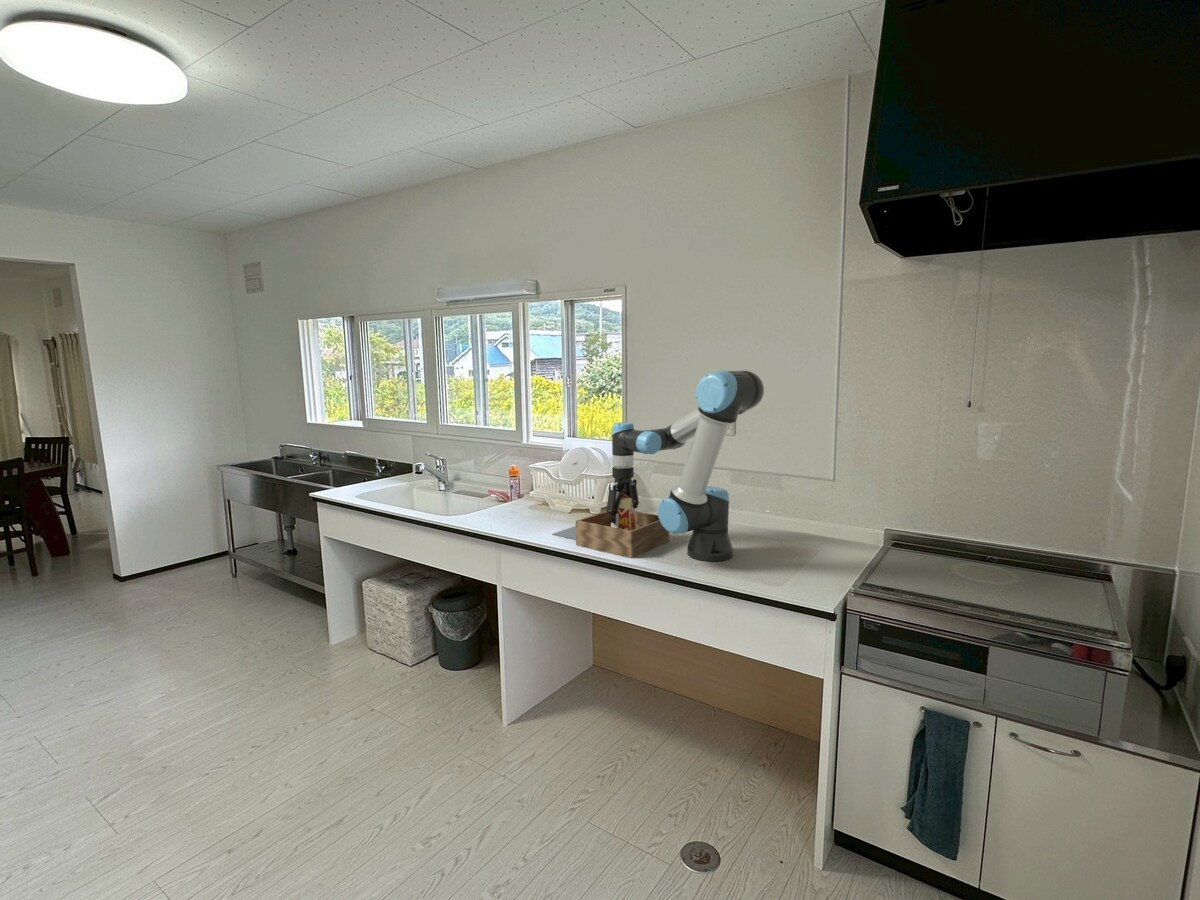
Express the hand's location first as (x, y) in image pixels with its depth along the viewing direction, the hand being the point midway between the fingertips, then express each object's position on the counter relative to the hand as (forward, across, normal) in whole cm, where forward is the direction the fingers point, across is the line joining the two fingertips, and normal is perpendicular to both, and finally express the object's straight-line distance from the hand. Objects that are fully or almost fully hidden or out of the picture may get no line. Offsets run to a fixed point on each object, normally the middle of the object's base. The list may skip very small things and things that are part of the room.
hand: (623, 528), depth 219 cm
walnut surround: (+6, 0, 0) cm, 6 cm away
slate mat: (+6, 0, -21) cm, 22 cm away
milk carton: (+6, 0, 0) cm, 6 cm away
